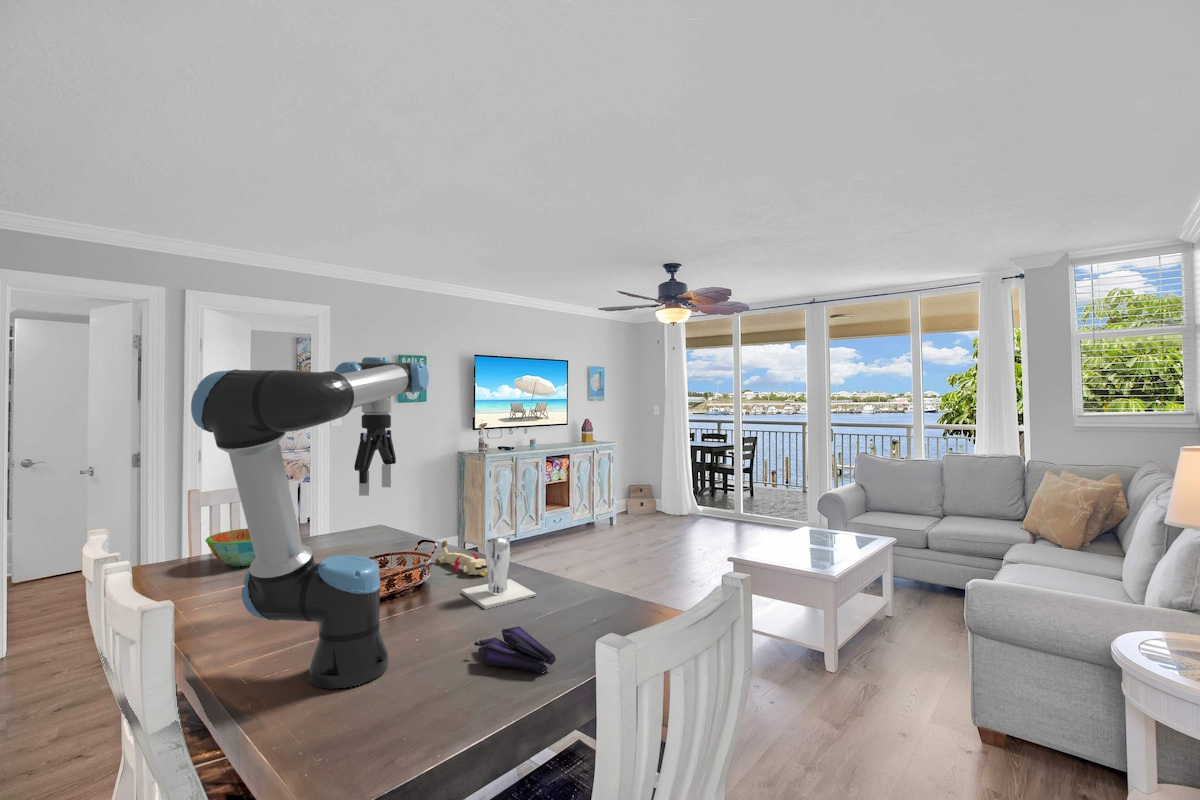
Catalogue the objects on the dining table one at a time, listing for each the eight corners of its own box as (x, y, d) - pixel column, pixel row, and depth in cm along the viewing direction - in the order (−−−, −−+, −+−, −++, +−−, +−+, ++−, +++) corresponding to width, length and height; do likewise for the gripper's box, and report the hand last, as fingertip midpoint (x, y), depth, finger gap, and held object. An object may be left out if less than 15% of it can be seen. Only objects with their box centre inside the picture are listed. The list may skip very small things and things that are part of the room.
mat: (536, 596, 163) (536, 593, 163) (485, 609, 154) (485, 605, 154) (510, 582, 176) (510, 579, 176) (461, 592, 167) (461, 589, 167)
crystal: (564, 636, 122) (497, 609, 133) (529, 663, 113) (460, 631, 124) (564, 667, 123) (498, 637, 134) (529, 695, 114) (460, 661, 125)
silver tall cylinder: (514, 591, 165) (514, 540, 165) (495, 597, 160) (495, 544, 160) (500, 586, 170) (500, 536, 170) (480, 591, 165) (480, 540, 165)
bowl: (224, 578, 179) (224, 546, 179) (193, 566, 191) (193, 537, 191) (295, 561, 198) (295, 532, 198) (262, 551, 210) (262, 524, 210)
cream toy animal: (430, 568, 194) (472, 578, 177) (429, 543, 195) (470, 550, 178) (455, 562, 202) (498, 571, 185) (454, 537, 202) (496, 544, 185)
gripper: (382, 412, 168) (382, 483, 168) (339, 415, 143) (339, 499, 144) (407, 412, 168) (407, 484, 168) (368, 415, 143) (368, 499, 143)
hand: (376, 491), depth 156 cm, fingers open, 13 cm apart
